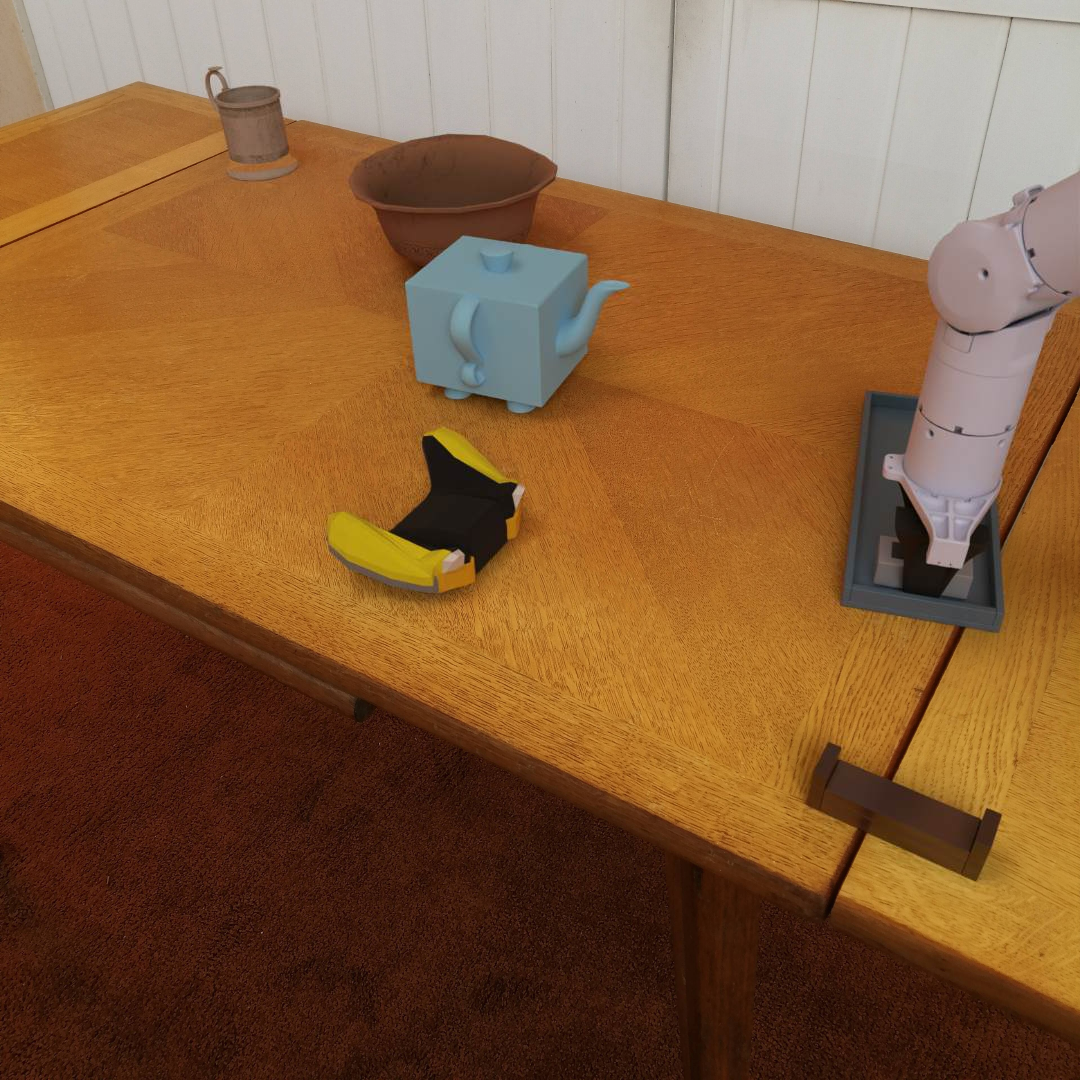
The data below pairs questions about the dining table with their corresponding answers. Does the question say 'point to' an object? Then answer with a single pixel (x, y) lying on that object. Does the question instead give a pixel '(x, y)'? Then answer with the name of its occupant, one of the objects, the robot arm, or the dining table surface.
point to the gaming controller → (436, 523)
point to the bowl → (452, 191)
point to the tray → (875, 516)
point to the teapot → (503, 319)
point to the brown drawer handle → (902, 815)
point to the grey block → (891, 569)
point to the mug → (251, 126)
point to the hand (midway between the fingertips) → (919, 579)
